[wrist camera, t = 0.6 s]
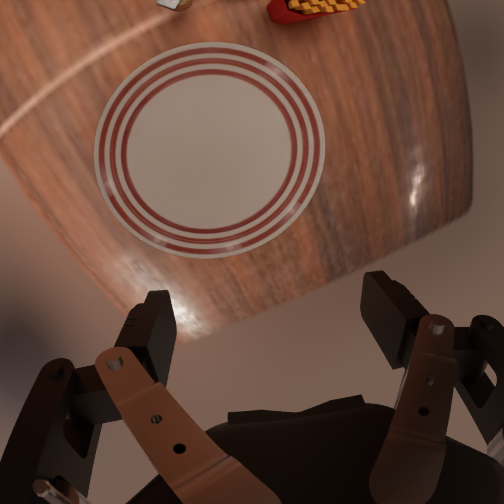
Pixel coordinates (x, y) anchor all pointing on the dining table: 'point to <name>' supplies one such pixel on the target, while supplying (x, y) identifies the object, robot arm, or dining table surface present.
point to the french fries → (307, 9)
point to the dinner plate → (209, 150)
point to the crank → (175, 4)
